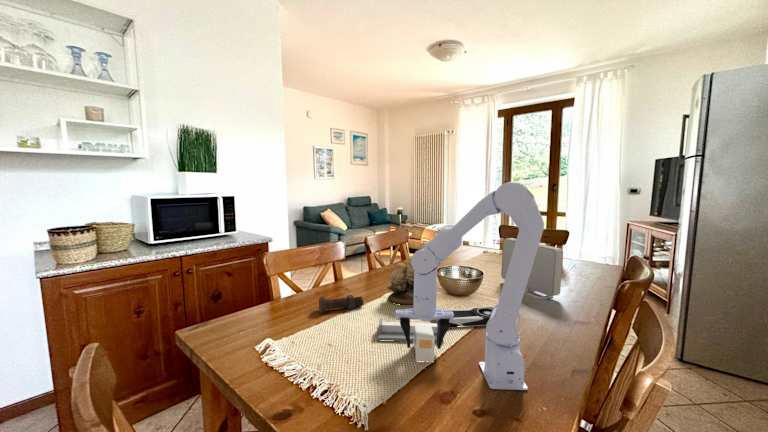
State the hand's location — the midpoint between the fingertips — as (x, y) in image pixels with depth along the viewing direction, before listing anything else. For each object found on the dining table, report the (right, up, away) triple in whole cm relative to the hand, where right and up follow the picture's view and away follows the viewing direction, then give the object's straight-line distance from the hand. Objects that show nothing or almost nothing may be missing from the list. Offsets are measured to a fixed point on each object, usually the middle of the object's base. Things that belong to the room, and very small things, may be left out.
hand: (423, 346), depth 80 cm
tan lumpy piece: (0, +2, +37) cm, 37 cm away
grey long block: (-3, -1, +10) cm, 11 cm away
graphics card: (+18, -1, +20) cm, 26 cm away
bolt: (-25, +1, +27) cm, 37 cm away
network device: (+49, +2, +49) cm, 69 cm away
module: (0, -2, 0) cm, 2 cm away
